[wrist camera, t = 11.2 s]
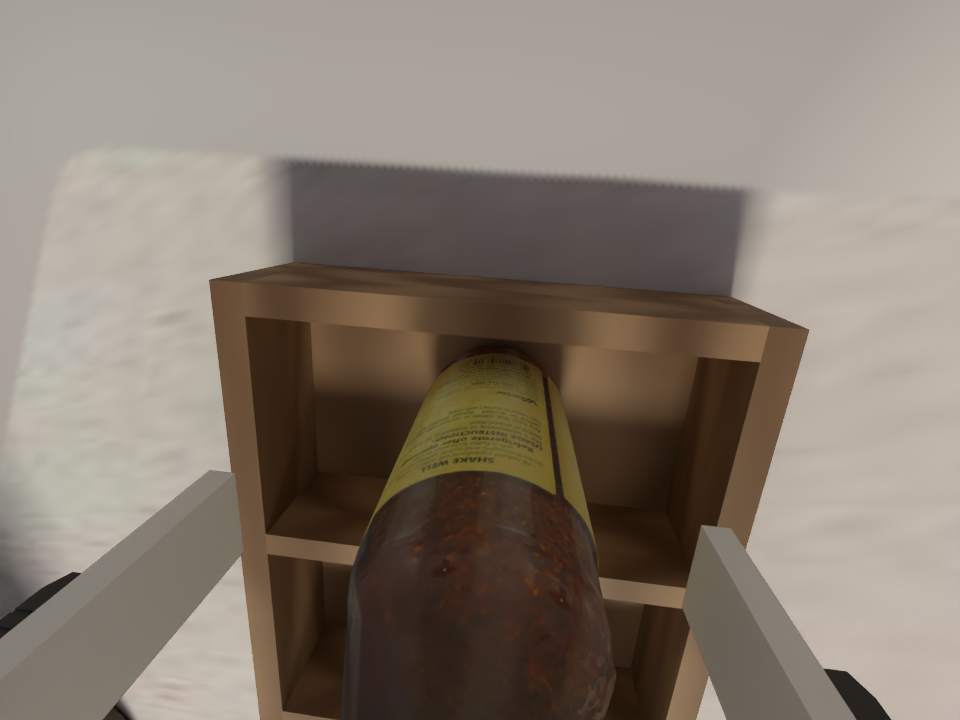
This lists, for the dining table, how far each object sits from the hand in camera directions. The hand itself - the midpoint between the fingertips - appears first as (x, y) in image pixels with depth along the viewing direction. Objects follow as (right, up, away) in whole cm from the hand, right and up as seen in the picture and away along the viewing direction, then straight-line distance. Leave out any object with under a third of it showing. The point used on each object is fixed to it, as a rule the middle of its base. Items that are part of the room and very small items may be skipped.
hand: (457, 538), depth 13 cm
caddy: (+1, -2, +11) cm, 12 cm away
